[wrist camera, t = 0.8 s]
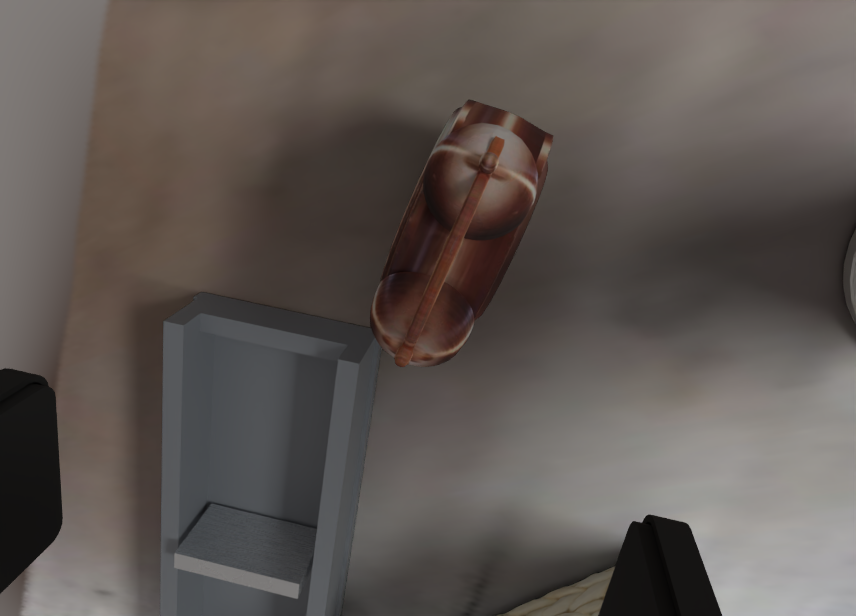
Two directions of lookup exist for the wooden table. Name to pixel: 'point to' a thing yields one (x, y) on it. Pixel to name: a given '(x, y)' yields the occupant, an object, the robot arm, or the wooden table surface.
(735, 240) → the wooden table surface
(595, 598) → the storage basket
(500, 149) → the alarm clock
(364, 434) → the tray
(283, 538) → the pusher plate
